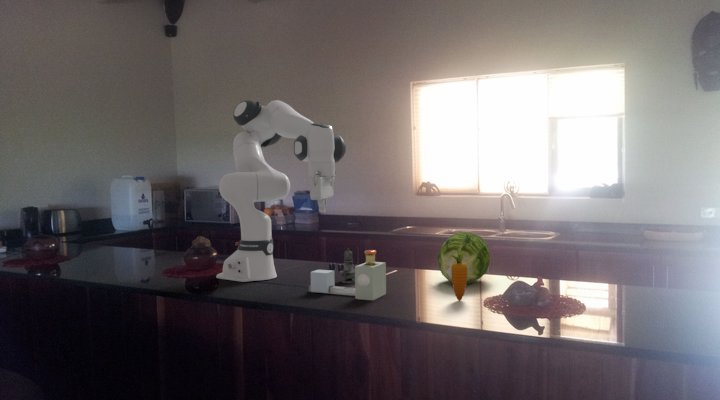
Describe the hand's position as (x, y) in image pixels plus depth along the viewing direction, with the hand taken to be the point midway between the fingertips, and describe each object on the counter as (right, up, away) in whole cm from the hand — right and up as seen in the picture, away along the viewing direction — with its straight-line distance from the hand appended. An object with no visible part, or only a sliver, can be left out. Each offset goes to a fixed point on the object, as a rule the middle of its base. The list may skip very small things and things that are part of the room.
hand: (322, 212), depth 202 cm
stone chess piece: (+9, -25, +7) cm, 27 cm away
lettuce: (+48, -25, +1) cm, 54 cm away
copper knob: (+16, -17, -17) cm, 29 cm away
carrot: (+42, -26, -25) cm, 56 cm away
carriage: (+1, -26, -10) cm, 27 cm away
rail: (+5, -26, -12) cm, 29 cm away
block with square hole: (+16, -26, -17) cm, 35 cm away
